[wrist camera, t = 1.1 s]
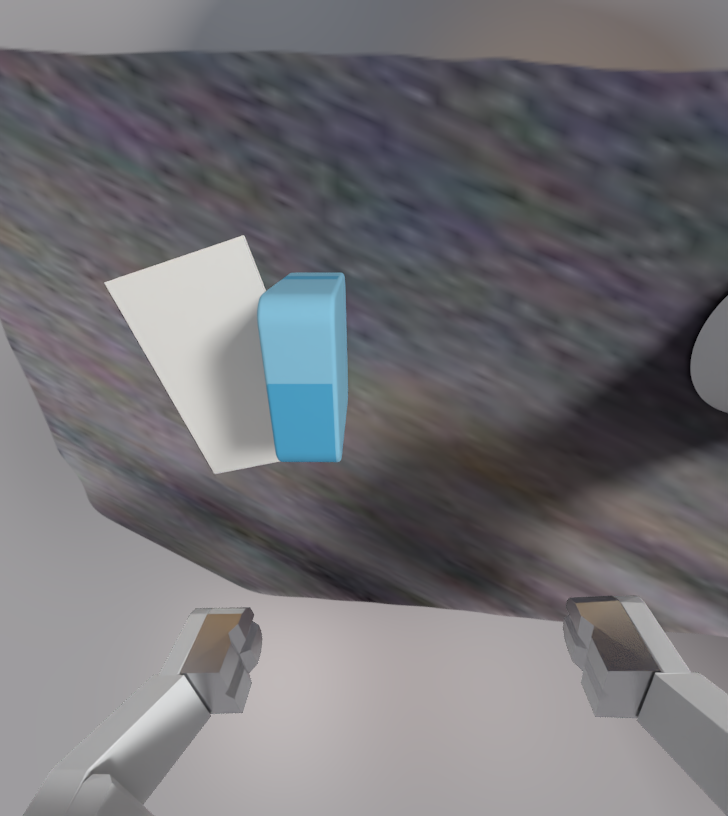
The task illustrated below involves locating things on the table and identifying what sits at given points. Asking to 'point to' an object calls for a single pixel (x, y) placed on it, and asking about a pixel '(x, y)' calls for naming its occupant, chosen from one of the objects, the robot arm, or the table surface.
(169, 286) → the mat
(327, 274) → the data package
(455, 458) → the table surface
